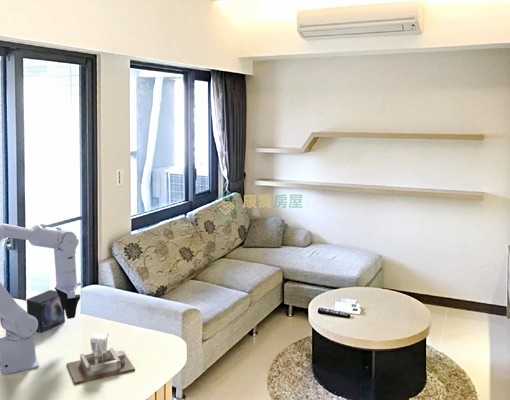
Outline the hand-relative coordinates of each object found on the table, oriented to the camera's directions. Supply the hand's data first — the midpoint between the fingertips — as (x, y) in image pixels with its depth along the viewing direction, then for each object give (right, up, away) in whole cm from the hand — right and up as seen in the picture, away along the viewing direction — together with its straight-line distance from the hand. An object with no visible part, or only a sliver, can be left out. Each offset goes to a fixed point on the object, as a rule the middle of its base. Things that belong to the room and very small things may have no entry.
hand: (68, 313), depth 164 cm
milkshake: (+13, -12, -12) cm, 22 cm away
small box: (-13, -8, +16) cm, 22 cm away
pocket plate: (+13, -13, -11) cm, 21 cm away
